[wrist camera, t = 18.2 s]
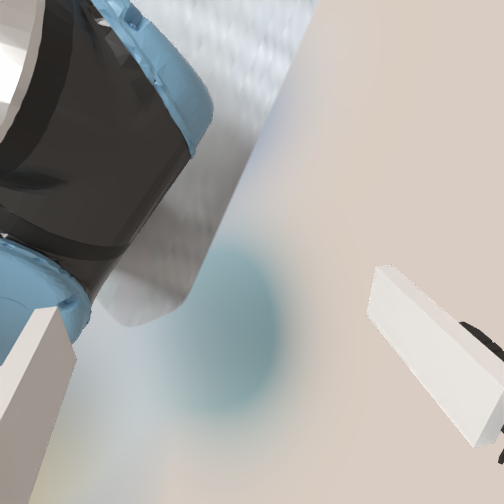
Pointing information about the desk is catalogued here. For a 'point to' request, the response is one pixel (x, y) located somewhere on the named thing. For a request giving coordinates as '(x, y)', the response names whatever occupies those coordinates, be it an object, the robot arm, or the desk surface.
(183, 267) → the desk surface
